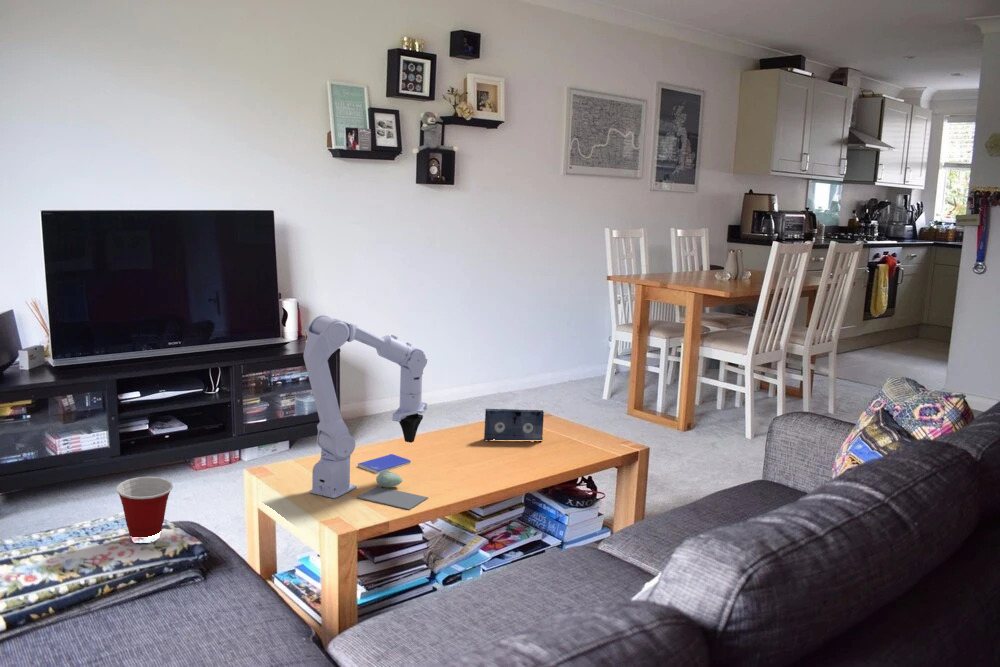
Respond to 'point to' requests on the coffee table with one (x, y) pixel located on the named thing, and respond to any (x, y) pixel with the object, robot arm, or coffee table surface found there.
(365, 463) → the hard drive
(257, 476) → the coffee table surface
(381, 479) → the grey-green rounded piece
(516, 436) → the vhs cassette tape
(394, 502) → the mat
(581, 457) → the coffee table surface
